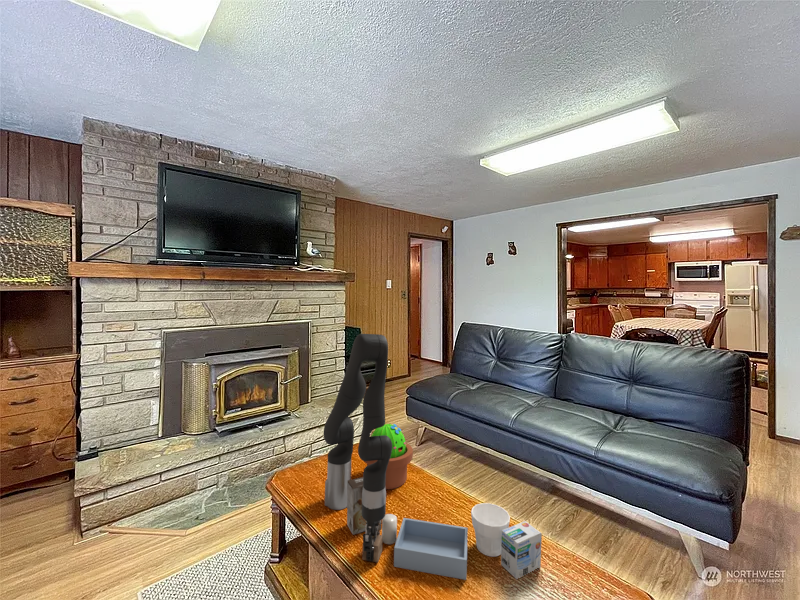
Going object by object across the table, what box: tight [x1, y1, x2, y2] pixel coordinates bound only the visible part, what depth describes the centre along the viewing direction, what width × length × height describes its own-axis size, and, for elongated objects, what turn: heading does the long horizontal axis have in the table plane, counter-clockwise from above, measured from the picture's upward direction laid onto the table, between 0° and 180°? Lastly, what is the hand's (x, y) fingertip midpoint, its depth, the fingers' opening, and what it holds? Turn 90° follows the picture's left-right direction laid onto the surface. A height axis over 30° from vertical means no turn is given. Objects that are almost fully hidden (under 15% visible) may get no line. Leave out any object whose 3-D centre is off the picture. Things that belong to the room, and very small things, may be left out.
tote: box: [393, 517, 469, 581], centre depth 111 cm, size 22×15×6 cm
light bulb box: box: [500, 520, 543, 580], centre depth 107 cm, size 11×7×11 cm, turn 119°
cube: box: [361, 534, 383, 563], centre depth 110 cm, size 5×5×5 cm
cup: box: [470, 502, 511, 557], centre depth 115 cm, size 12×12×11 cm
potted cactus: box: [363, 422, 414, 490], centre depth 156 cm, size 22×22×25 cm
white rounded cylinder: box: [381, 513, 398, 545], centre depth 118 cm, size 5×5×7 cm
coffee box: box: [346, 476, 367, 535], centre depth 124 cm, size 9×6×16 cm
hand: (372, 553), depth 110 cm, fingers closed on cube, 5 cm apart
